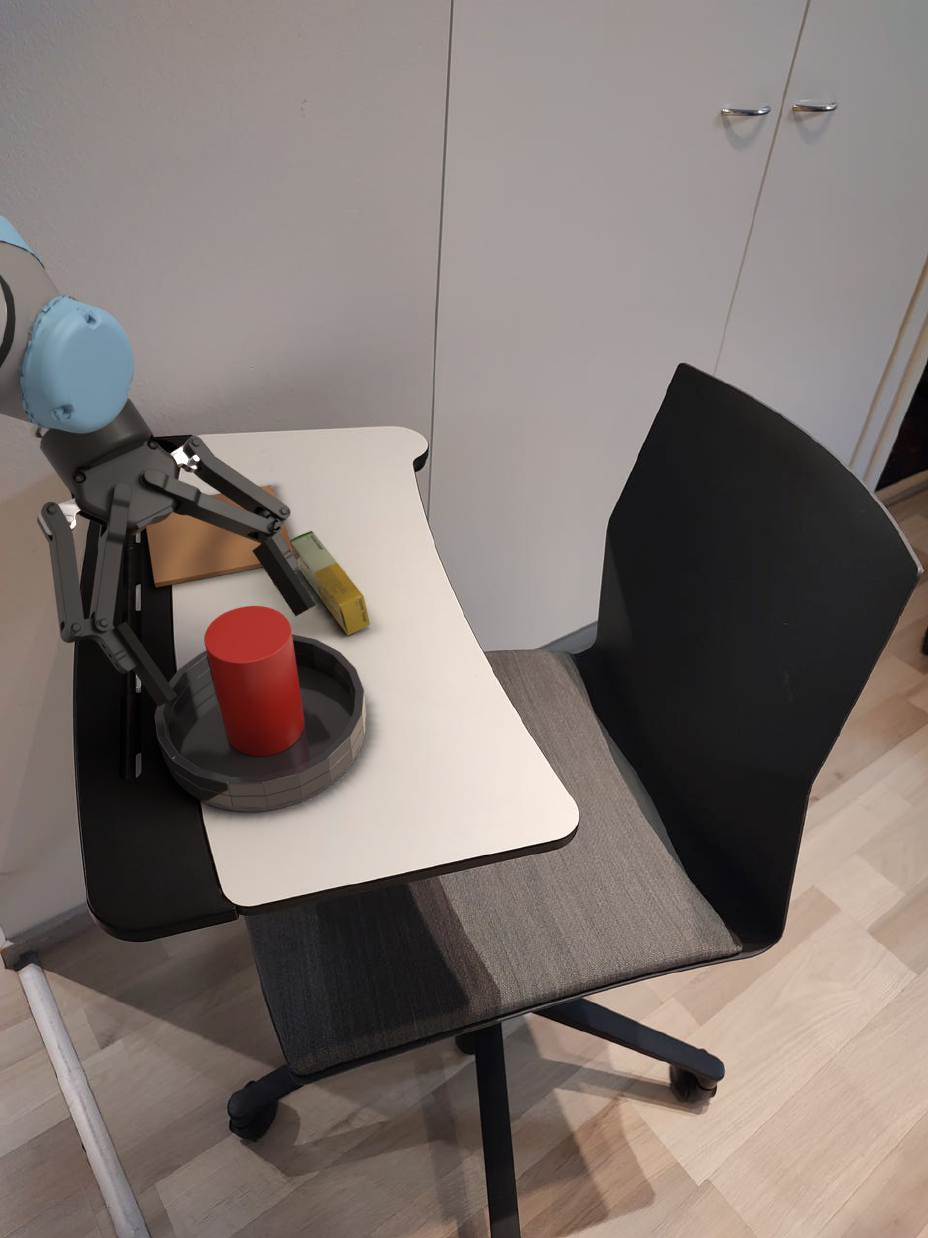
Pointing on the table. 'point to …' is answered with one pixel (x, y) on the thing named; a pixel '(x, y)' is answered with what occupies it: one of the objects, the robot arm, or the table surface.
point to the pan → (273, 780)
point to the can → (256, 679)
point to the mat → (200, 548)
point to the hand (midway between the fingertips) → (241, 654)
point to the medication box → (330, 582)
